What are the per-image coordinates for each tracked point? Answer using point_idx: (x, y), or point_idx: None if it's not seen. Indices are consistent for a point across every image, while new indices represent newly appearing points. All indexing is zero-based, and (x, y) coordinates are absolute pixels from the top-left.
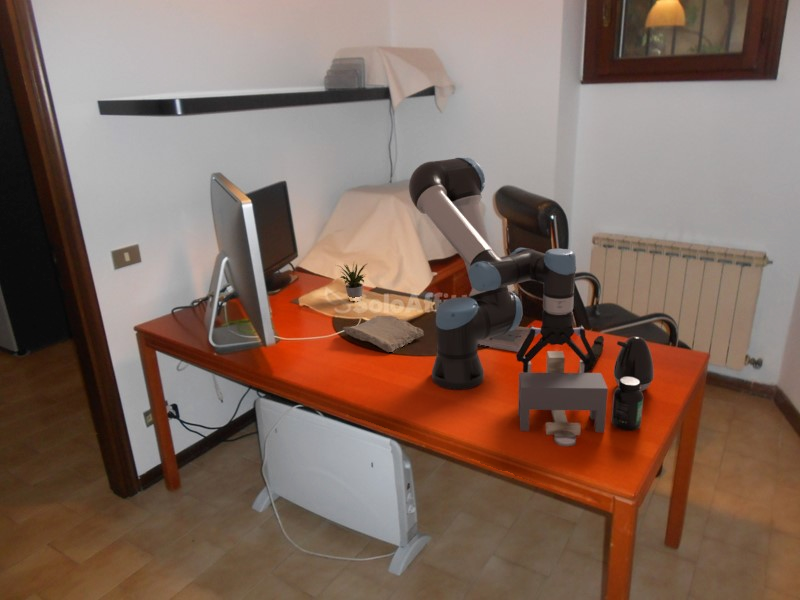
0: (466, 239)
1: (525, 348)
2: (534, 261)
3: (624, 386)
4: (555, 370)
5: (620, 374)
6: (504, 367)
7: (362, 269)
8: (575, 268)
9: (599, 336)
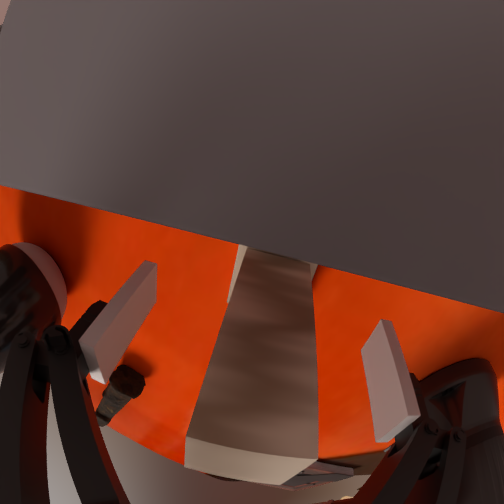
0: None
1: (447, 500)
2: None
3: None
4: (271, 364)
5: (33, 292)
6: (325, 422)
7: None
8: None
9: (99, 425)
